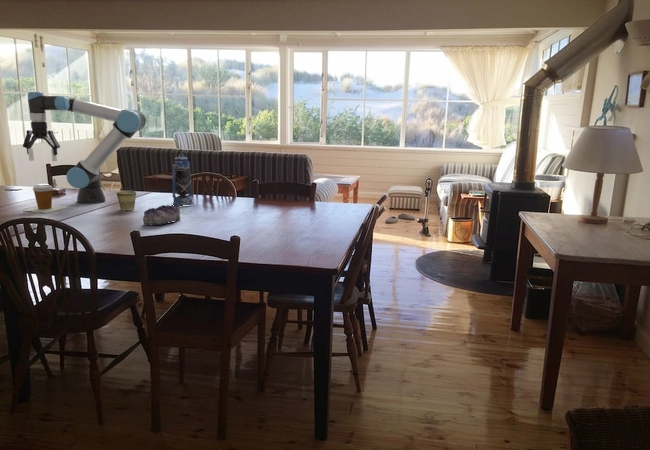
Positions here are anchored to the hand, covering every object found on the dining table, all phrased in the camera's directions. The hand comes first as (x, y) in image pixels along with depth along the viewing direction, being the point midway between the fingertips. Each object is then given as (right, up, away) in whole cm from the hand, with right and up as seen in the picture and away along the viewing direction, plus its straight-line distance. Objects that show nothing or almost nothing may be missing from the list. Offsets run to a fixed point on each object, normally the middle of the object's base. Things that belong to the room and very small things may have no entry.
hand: (43, 160), depth 272 cm
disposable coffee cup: (+4, -26, -4) cm, 27 cm away
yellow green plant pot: (+46, -27, +2) cm, 54 cm away
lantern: (+71, -24, +19) cm, 78 cm away
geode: (+74, -34, -26) cm, 86 cm away
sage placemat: (+4, -27, -5) cm, 28 cm away
